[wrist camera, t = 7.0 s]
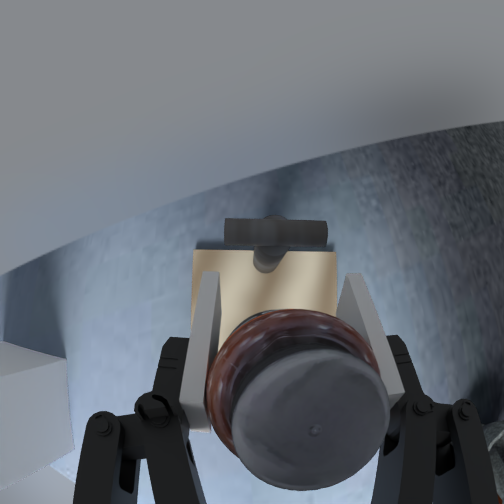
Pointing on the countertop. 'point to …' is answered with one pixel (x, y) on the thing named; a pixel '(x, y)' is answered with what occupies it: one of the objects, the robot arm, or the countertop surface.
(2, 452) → the milk
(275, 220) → the headphone stand
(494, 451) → the mortar and pestle
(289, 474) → the supplement bottle
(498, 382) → the countertop surface
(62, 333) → the countertop surface
